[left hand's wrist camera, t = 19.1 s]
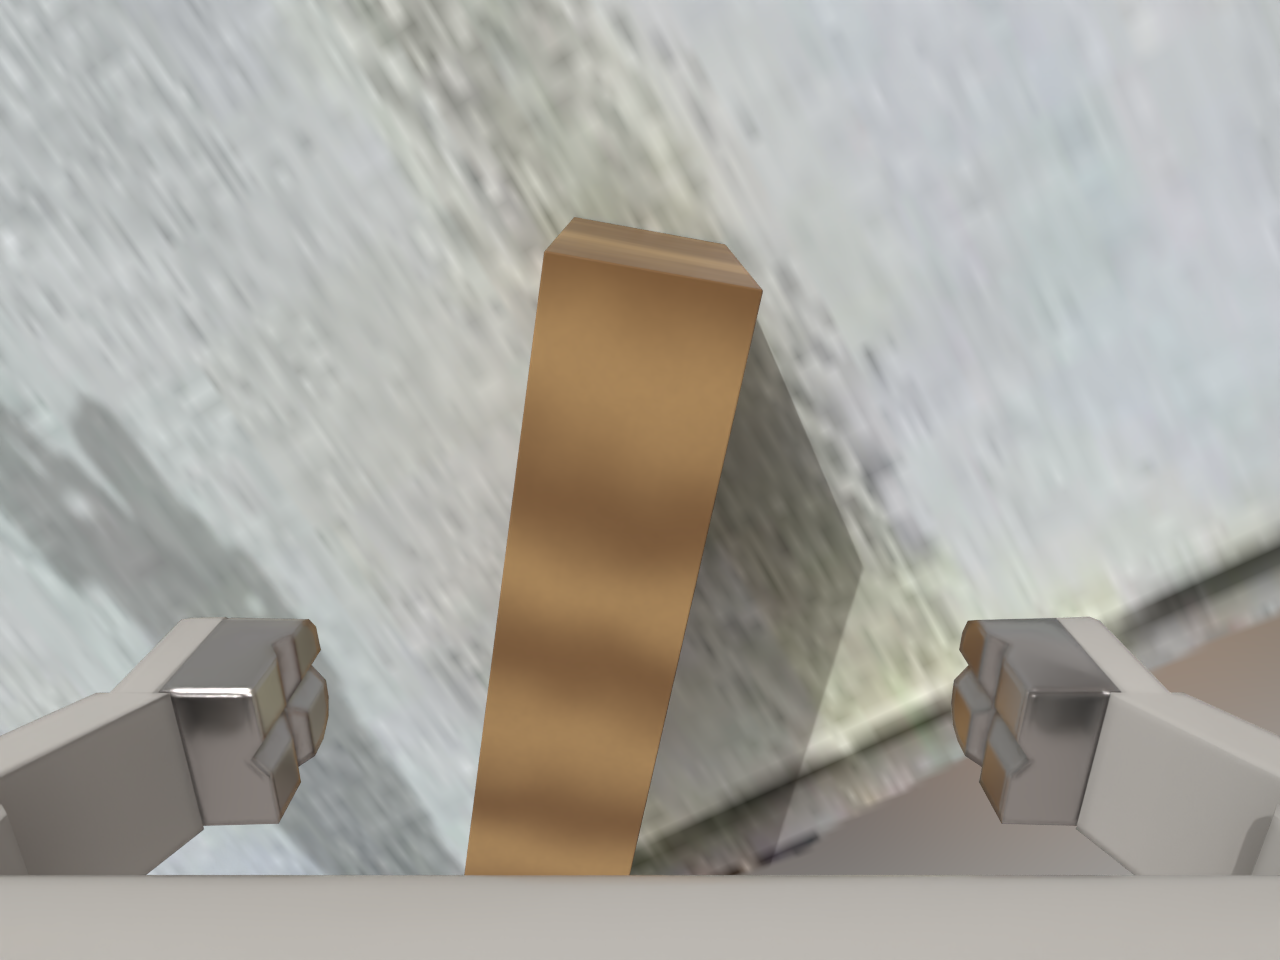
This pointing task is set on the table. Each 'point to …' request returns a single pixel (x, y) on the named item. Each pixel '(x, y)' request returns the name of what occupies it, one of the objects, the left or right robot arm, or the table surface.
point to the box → (605, 539)
